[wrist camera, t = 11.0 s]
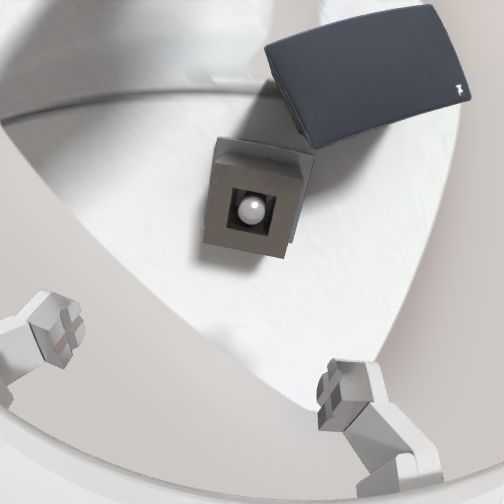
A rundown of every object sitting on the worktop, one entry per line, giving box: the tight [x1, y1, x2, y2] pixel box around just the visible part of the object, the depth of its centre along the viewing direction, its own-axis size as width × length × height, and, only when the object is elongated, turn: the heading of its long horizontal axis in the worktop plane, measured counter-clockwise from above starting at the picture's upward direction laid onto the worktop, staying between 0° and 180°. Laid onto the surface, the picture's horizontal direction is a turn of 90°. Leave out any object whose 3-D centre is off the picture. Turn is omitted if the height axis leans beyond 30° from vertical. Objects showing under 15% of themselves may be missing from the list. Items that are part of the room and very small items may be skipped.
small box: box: [264, 4, 472, 150], centre depth 16 cm, size 11×6×10 cm, turn 115°
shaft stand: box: [205, 136, 314, 243], centre depth 23 cm, size 8×8×6 cm
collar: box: [203, 151, 304, 259], centre depth 23 cm, size 6×6×5 cm
